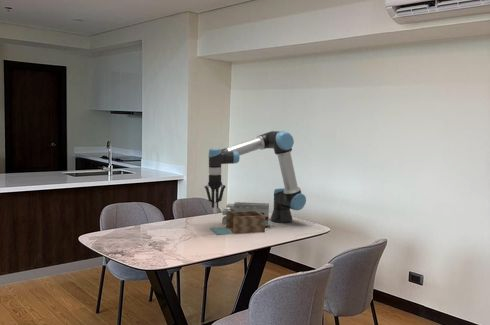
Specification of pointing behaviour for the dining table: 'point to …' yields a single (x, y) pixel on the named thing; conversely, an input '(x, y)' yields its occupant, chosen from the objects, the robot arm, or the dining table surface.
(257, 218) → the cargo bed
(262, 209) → the grey rectangular block
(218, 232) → the tailgate
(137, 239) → the dining table surface
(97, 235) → the dining table surface
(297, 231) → the dining table surface
